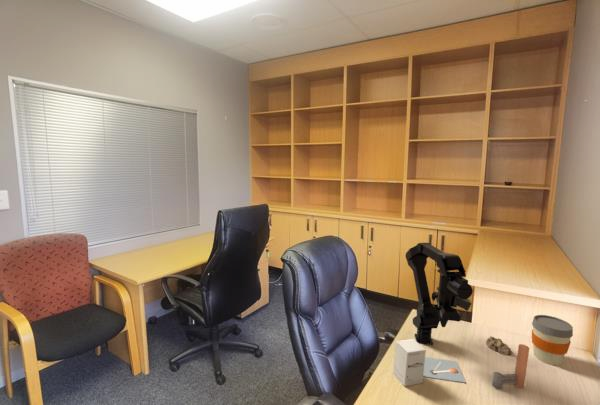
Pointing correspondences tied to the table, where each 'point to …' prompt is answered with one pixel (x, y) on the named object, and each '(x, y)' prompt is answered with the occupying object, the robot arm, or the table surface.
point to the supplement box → (409, 362)
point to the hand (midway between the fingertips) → (443, 326)
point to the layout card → (442, 370)
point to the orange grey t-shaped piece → (519, 370)
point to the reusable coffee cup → (550, 339)
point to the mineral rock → (498, 346)
